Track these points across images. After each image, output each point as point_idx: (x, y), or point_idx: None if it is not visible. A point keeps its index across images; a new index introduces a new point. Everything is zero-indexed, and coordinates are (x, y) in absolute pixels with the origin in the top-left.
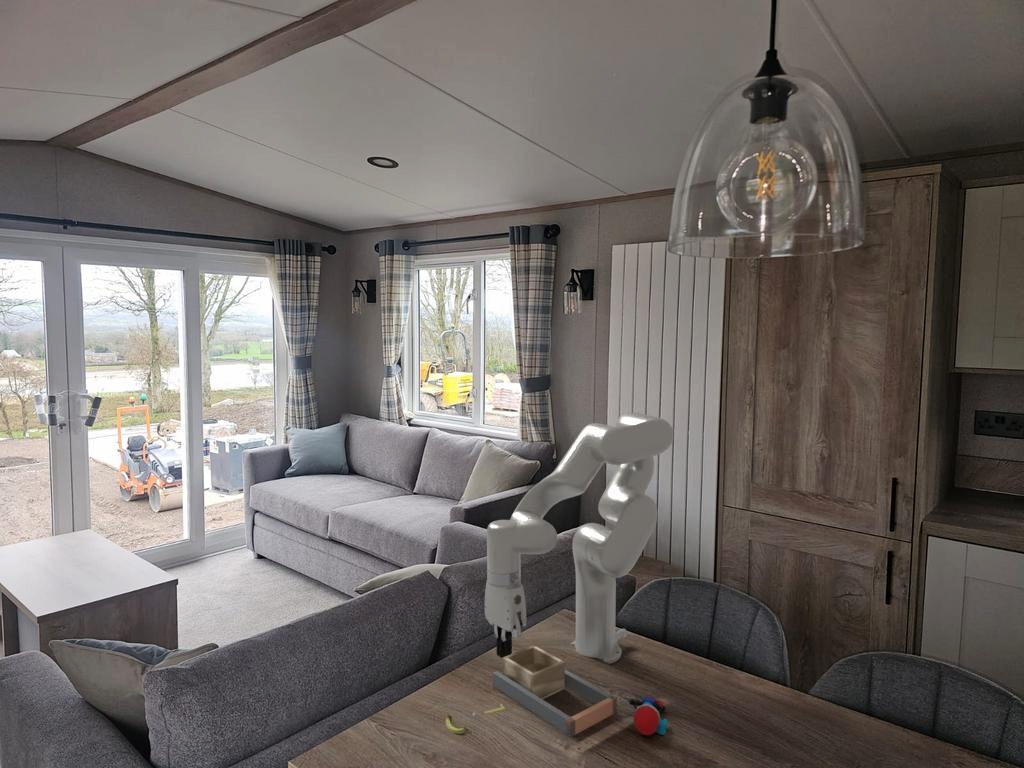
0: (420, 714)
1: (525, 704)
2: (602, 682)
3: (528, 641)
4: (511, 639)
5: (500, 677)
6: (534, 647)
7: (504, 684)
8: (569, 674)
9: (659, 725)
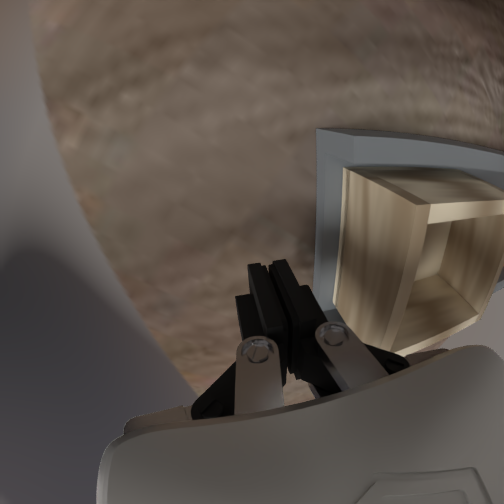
0: None
1: None
2: (456, 46)
3: (76, 27)
4: (311, 310)
5: None
6: (431, 219)
7: None
8: (491, 164)
9: None
